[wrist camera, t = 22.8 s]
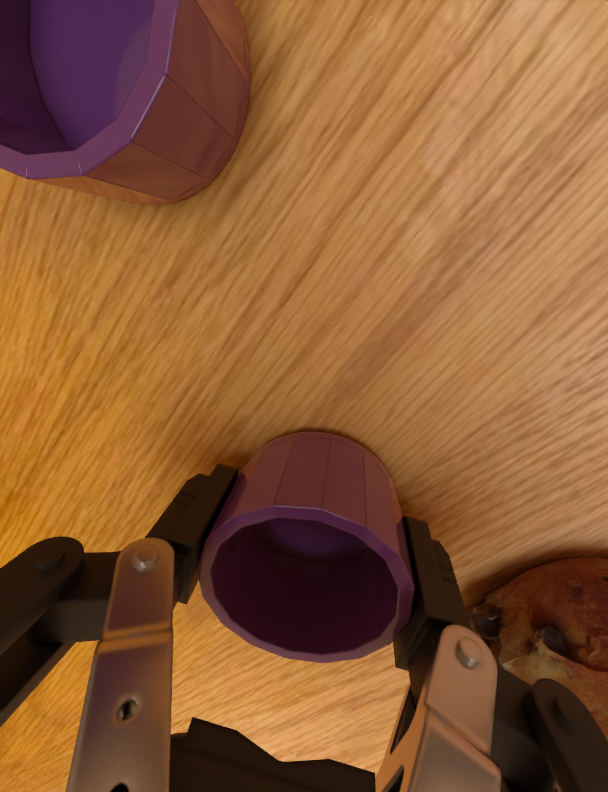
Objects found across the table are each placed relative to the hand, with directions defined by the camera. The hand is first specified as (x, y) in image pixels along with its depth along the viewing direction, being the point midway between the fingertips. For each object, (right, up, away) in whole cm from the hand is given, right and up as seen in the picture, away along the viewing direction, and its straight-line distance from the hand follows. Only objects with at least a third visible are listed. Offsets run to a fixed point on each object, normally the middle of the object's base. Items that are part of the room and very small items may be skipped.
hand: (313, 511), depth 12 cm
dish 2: (0, 0, +1) cm, 1 cm away
